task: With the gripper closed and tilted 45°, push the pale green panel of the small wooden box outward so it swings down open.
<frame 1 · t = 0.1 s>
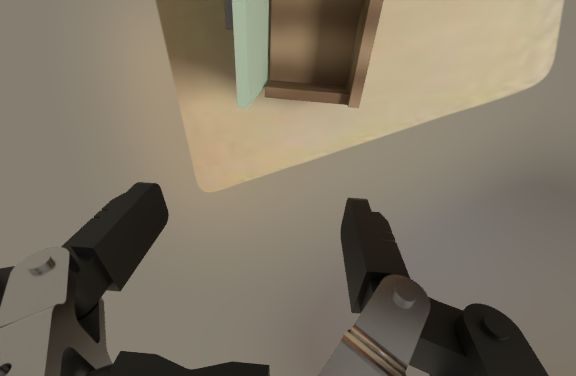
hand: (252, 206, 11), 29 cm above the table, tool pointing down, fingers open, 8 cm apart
wooden box: (319, 11, 30), on the table
pale green panel: (250, 2, 23), point 9 cm above the table, hinge at 0.0°
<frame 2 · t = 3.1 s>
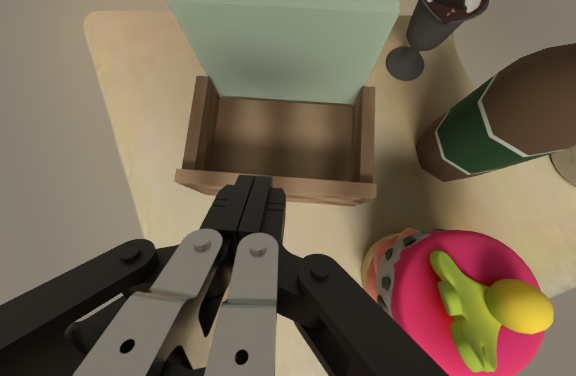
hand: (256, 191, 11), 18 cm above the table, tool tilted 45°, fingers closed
cake: (403, 275, 28), on the table
wooden box: (282, 156, 30), on the table
beer bottle: (444, 153, 30), on the table
sundae: (403, 64, 33), on the table
pale green panel: (285, 58, 23), point 9 cm above the table, hinge at 0.0°
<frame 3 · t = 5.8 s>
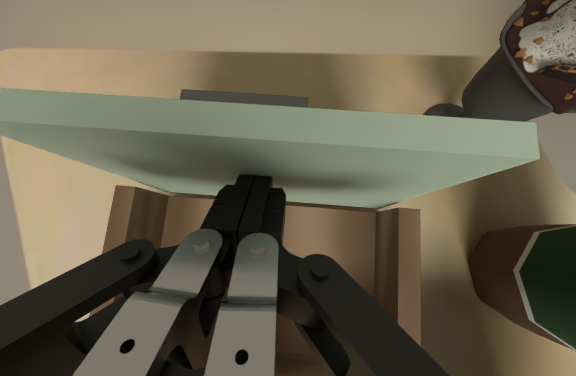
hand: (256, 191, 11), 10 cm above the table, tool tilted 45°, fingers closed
wooden box: (267, 274, 20), on the table
beer bottle: (511, 271, 20), on the table
sundae: (446, 130, 22), on the table
pale green panel: (262, 167, 13), point 9 cm above the table, hinge at 1.3°, touching gripper
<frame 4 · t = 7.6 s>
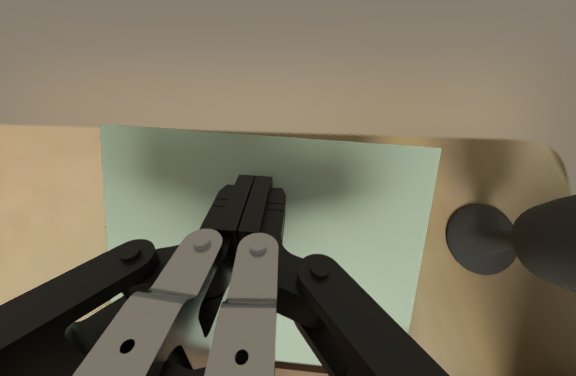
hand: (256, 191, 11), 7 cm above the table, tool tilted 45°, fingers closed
sundae: (478, 237, 18), on the table
pale green panel: (261, 252, 13), point 5 cm above the table, hinge at 70.8°, touching gripper
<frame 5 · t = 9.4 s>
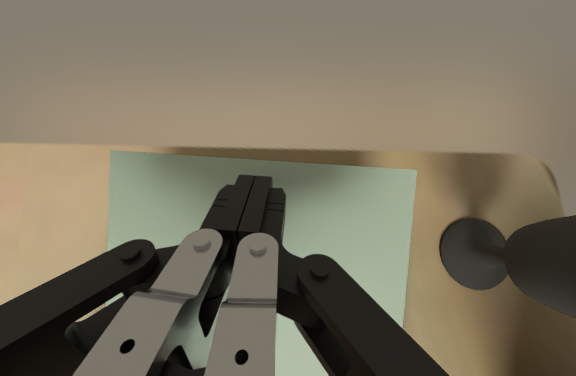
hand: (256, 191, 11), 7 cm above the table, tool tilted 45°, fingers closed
sundae: (471, 252, 18), on the table
pale green panel: (256, 270, 14), point 4 cm above the table, hinge at 77.3°
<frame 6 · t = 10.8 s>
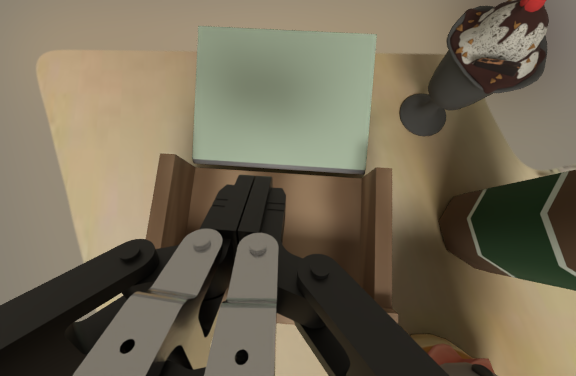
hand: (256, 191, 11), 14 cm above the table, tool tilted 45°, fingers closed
wooden box: (275, 233, 25), on the table
beer bottle: (473, 229, 25), on the table
sundae: (421, 115, 27), on the table
pale green panel: (282, 103, 23), point 4 cm above the table, hinge at 77.3°
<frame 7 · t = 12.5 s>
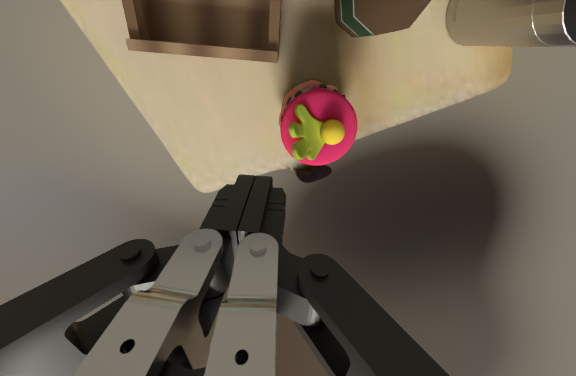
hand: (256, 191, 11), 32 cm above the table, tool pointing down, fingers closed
cake: (310, 111, 42), on the table
wooden box: (215, 8, 34), on the table
beer bottle: (359, 5, 34), on the table
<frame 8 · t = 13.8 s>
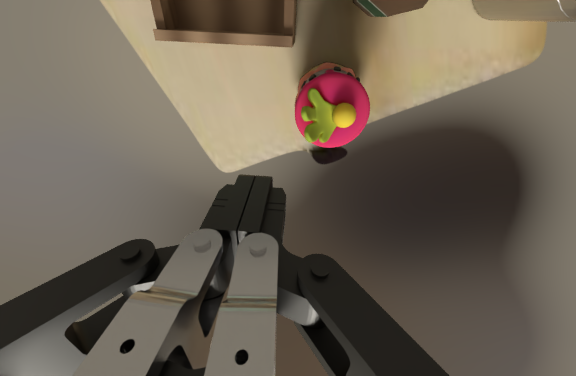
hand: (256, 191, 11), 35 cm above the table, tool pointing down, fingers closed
cake: (326, 93, 42), on the table
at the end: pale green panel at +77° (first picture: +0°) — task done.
